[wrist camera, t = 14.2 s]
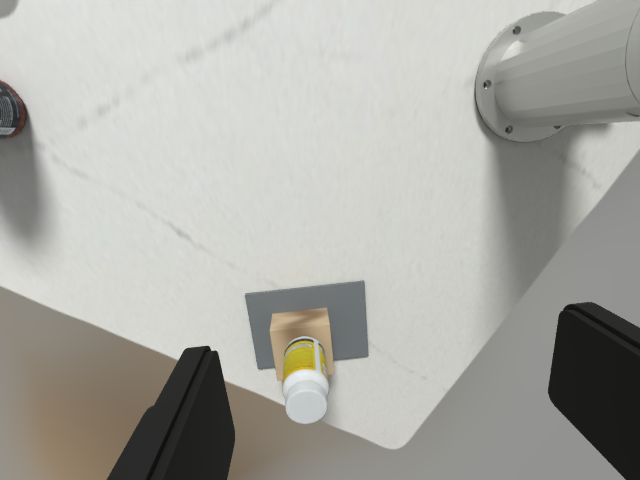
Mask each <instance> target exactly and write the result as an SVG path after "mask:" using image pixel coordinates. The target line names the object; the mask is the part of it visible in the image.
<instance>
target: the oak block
mask: <svg viewBox="0 0 640 480" xmlns="http://www.w3.org/2000/svg"><path fill="white" fill-rule="evenodd" d="M302 336H307V337H312V338H314V339H316V340H318V341H319V342H320V343H321V344H322V346H323V348H324V352H325V359H326V367H327V375H333V374H334V365H333V354H332V343H331V332H330V323H329V317H328V311H327V308H319V309H310V310H301V311H292V312H284V313H275V314H272V319H271V326H270V337H271V343H272V350H273V356H274V362H275V369H276V375H277V381H283V369H284V353H285V349H286V347H287V345H288V344H289V343H290V342H291V341H292V340H293V339H295V338H298V337H302Z"/></svg>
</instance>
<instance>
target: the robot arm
mask: <svg viewBox="0 0 640 480" xmlns="http://www.w3.org/2000/svg"><path fill="white" fill-rule="evenodd" d="M483 84H484V85H485V87H483ZM475 91H476V102H477V105H478V109H479V112H480V114H481V116H482V118H483V120H484V122H485V123H486V124H487V126H488V127H489V128H490V129H491V130H492V131H493V132H495V133H496V134H497V135H498V136H501V137H503V138H505V139H507V140H511V141H516V142H531V141H538V140H542V139H545V138H548V137H550V136H552V135H554V134H556V133H558V132H559V131H560V130H562V129H563V128H564V127H566V126H567V125H580V124H597V123H615V122H632V121H640V0H597V1H595V2H593V3H591V4H589V5H587V6H584V7H582V8H580V9H578V10H576V11H574V12H572V13H570V14H567V15H566V14H563V13H559V12H554V11H543V12H538V13H533V14H530V15H528V16H525V17H523V18H521V19H519V20H517V21H516V22H514V23H512V24H510V25H509V26H508V27H507V28H505V29H504V30H503V31H502V32H500V34H499V35H498V36H497V37H496V38H495V39H494V40H493V41H492V43H491V44H490V46H489V47H488V49H487V51H486V52H485V54H484V56H483V59H482V61H481V63H480V66H479V70H478V73H477V77H476V89H475ZM505 129H506V131H505ZM548 394H549V397H550V400H551V401H552V403H553V404H554V406H555V407H556V408H557V409H558V410H559V411H560V412H561V413H562V414H563V415H564V416H565V417H566V418H567V419H568V420H569V421H570V422H571V423H572V424H573V425H574V426H575V427H576V428H577V429H578V430H579V431H580V432H581V434H582V435H583V436H584V437H585V438H586V439H587V440H588V441H589V442H590V443H591V444H592V445H593V446H594V447H595V448H596V449H597V450H598V451H599V452H600V453H601V454H602V455H603V456H604V457H605V458H606V459H607V460H608V462H609V463H611V465H612V466H613V467H614V468H615V469H616V470H617V471H618V472H619V473H620V474H621V475H622V476H623V477H624V478H625V479H626V480H640V328H639V327H637V326H635V325H634V324H632V323H630V322H628V321H626V320H625V319H623V318H621V317H619V316H617V315H615V314H613V313H612V312H610V311H608V310H606V309H604V308H603V307H601V306H599V305H597V304H595V303H592V302H586V303H577V304H569V305H567V306H566V307H565V308H564V309H563V311H561V313H560V314H559V319H558V325H557V332H556V339H555V347H554V353H553V360H552V367H551V374H550V381H549V387H548ZM234 443H235V430H234V425H233V420H232V415H231V411H230V406H229V402H228V397H227V392H226V388H225V383H224V378H223V373H222V369H221V364H220V360H219V355H218V352H217V351H211V349H210V347H209V346H201V347H193V348H186V349H185V350H184V351H183V353H182V355H181V357H180V359H179V361H178V362H177V364H176V366H175V368H174V370H173V372H172V374H171V375H170V377H169V379H168V381H167V383H166V384H165V386H164V388H163V390H162V392H161V394H160V395H159V397H158V399H157V401H156V403H155V405H154V406H151V407H150V408H149V409H148V410H147V411H146V412H145V414H144V415H143V417H142V418H141V420H140V422H139V424H138V425H137V427H136V429H135V431H134V432H133V434H132V436H131V438H130V440H129V441H128V443H127V445H126V447H125V448H124V450H123V452H122V454H121V456H120V457H119V459H118V461H117V463H116V464H115V466H114V468H113V470H112V472H111V473H110V475H109V477H108V478H107V480H227V477H228V472H229V467H230V463H231V458H232V453H233V448H234Z"/></svg>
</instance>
